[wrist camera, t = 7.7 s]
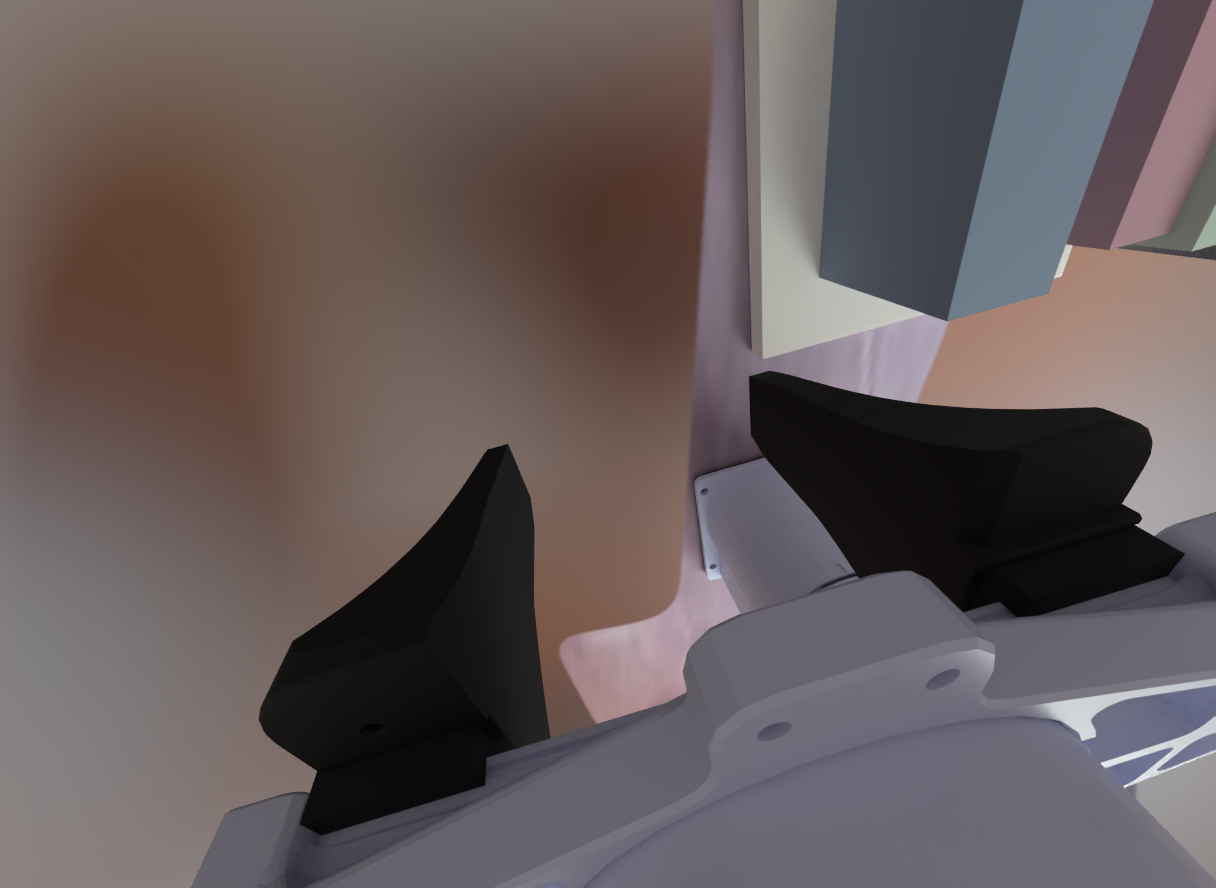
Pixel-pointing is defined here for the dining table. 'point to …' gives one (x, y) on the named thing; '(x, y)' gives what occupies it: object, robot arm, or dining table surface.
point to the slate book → (966, 143)
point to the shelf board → (796, 182)
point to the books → (1159, 141)
